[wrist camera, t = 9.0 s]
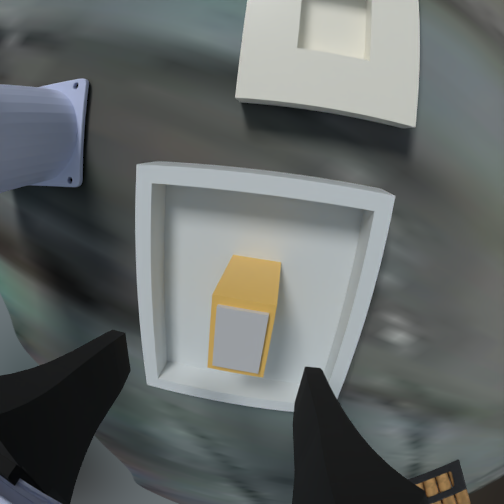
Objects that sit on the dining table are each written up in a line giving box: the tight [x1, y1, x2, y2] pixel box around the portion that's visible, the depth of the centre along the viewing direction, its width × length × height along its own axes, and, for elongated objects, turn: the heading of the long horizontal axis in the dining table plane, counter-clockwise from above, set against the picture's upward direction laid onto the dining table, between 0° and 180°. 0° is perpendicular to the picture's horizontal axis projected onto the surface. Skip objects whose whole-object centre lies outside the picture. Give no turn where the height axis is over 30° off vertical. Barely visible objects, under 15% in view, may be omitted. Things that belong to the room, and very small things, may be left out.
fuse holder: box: [235, 0, 420, 129], centre depth 14 cm, size 10×12×2 cm
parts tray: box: [135, 161, 395, 412], centre depth 20 cm, size 14×16×3 cm
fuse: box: [207, 255, 281, 378], centre depth 17 cm, size 3×4×6 cm, turn 173°
